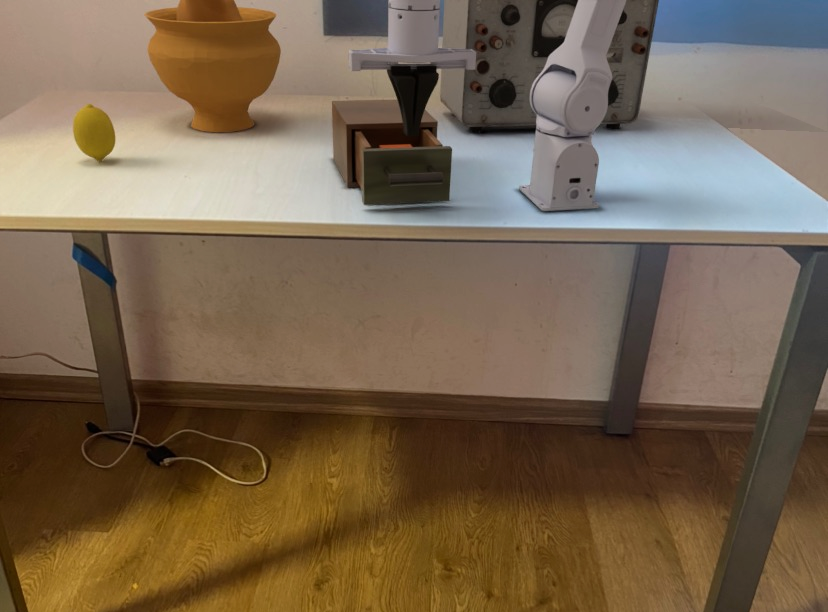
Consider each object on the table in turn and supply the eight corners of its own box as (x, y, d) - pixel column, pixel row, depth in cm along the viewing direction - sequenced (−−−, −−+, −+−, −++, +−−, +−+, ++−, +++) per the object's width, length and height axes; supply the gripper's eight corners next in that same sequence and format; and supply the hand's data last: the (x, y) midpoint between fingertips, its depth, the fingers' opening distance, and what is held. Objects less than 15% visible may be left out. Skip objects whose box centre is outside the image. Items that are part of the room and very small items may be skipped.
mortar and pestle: (298, 135, 131) (287, -79, 114) (167, 144, 124) (135, -82, 107) (269, 107, 147) (256, -84, 130) (151, 114, 140) (122, -87, 124)
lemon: (78, 167, 113) (66, 109, 108) (81, 157, 117) (69, 100, 113) (119, 166, 114) (108, 107, 110) (120, 155, 118) (110, 99, 114)
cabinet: (435, 183, 111) (437, 121, 106) (347, 187, 109) (346, 124, 104) (413, 156, 122) (414, 99, 118) (333, 159, 120) (331, 100, 115)
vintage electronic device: (463, 138, 132) (474, -34, 118) (439, 112, 147) (446, -43, 133) (640, 134, 138) (670, -31, 124) (600, 109, 152) (622, -40, 139)
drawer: (459, 214, 98) (463, 159, 95) (370, 218, 96) (370, 162, 92) (426, 171, 113) (428, 123, 109) (348, 174, 111) (347, 125, 107)
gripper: (467, 3, 93) (460, 124, 100) (343, 3, 90) (346, 127, 97) (484, 11, 87) (475, 138, 94) (353, 11, 84) (355, 142, 91)
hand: (410, 134), depth 95 cm, fingers closed
